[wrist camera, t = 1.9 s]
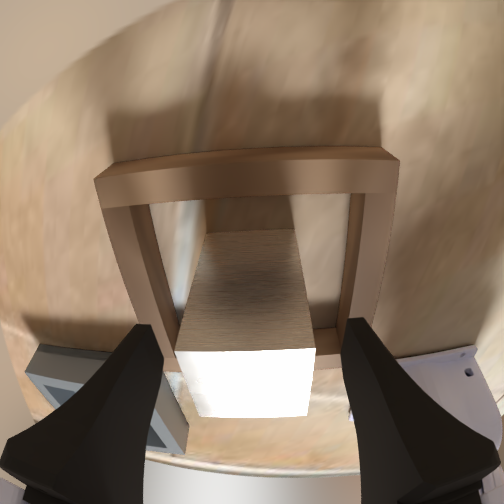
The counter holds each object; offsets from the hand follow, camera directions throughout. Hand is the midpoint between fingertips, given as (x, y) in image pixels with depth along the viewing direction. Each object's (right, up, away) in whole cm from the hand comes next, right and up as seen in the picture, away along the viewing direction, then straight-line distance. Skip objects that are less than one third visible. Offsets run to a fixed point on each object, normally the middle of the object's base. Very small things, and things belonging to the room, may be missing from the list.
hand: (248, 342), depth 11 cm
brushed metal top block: (0, +3, +4) cm, 5 cm away
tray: (-11, -8, +11) cm, 18 cm away
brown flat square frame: (0, +3, +4) cm, 5 cm away
